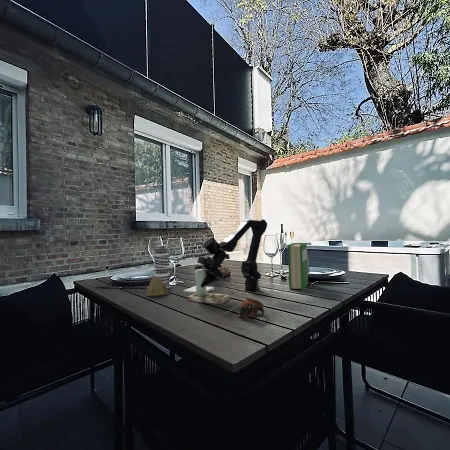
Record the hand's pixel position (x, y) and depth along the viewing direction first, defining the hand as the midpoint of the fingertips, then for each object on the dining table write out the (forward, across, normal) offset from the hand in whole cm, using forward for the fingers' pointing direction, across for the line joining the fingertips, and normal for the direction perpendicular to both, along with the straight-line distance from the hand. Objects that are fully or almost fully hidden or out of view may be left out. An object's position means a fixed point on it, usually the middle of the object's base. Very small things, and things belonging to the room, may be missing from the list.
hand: (198, 286), depth 138 cm
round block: (+4, 0, +6) cm, 7 cm away
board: (-2, -17, +13) cm, 21 cm away
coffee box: (-50, 0, +61) cm, 79 cm away
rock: (+12, -26, -2) cm, 29 cm away
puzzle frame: (+3, +4, +7) cm, 9 cm away
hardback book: (-35, +13, +46) cm, 59 cm away
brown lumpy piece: (+4, +35, +7) cm, 36 cm away
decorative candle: (+5, -41, +5) cm, 41 cm away
